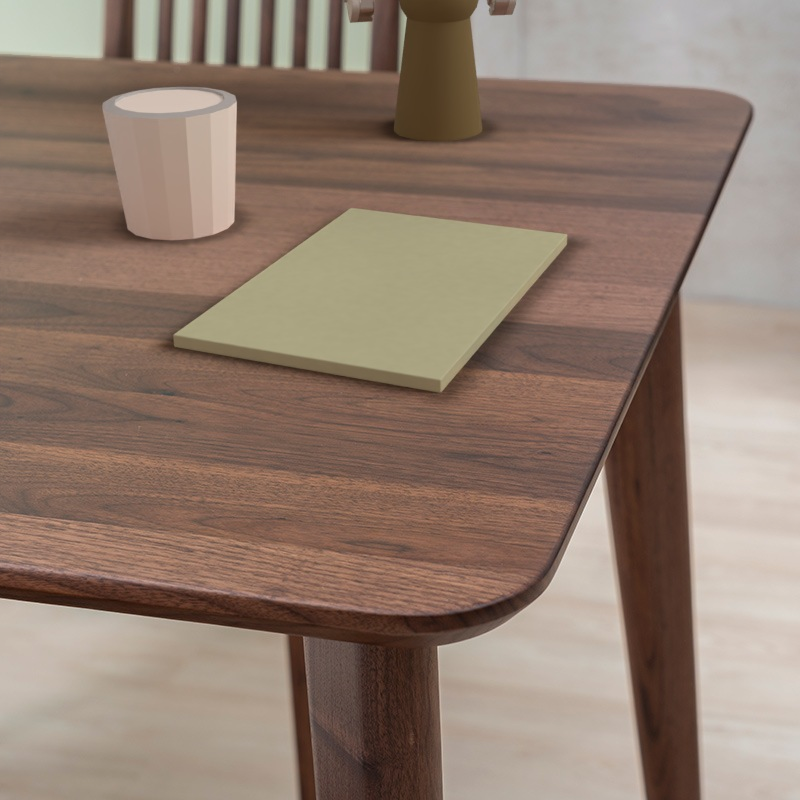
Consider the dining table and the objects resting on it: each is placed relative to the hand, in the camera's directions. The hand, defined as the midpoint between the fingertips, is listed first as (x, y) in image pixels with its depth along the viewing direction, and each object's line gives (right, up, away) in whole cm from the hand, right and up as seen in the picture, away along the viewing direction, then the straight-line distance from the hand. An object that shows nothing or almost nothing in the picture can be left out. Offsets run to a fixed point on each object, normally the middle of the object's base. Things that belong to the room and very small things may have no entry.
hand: (433, 13), depth 82 cm
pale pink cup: (-14, -16, -14) cm, 26 cm away
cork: (0, -8, +2) cm, 8 cm away
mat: (-3, -20, -23) cm, 31 cm away
